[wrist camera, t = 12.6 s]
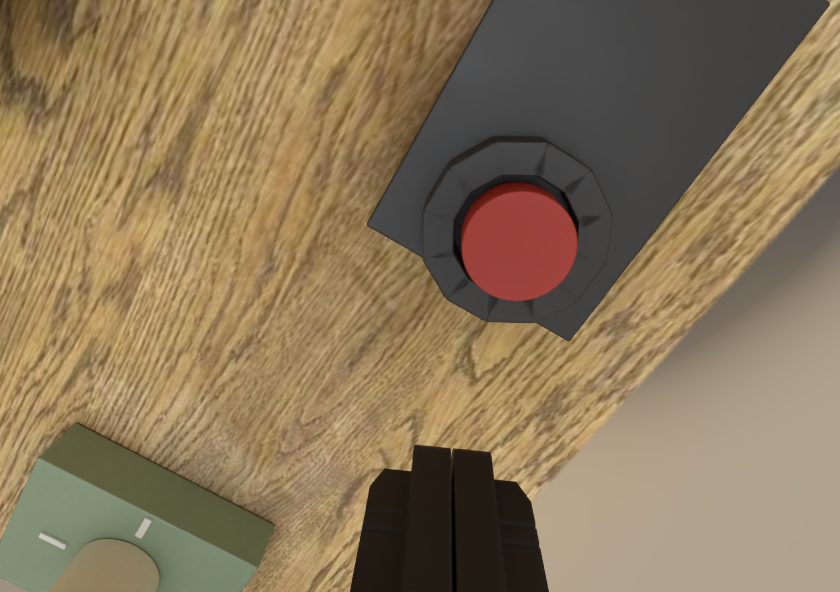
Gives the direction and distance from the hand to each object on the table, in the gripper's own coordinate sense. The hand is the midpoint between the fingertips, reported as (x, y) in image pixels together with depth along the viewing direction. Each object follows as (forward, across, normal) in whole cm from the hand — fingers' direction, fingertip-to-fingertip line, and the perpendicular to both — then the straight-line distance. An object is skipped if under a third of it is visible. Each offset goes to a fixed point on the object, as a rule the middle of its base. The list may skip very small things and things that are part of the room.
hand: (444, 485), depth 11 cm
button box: (+15, -4, -6) cm, 17 cm away
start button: (+12, -2, -2) cm, 12 cm away
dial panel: (+16, +15, +18) cm, 28 cm away
